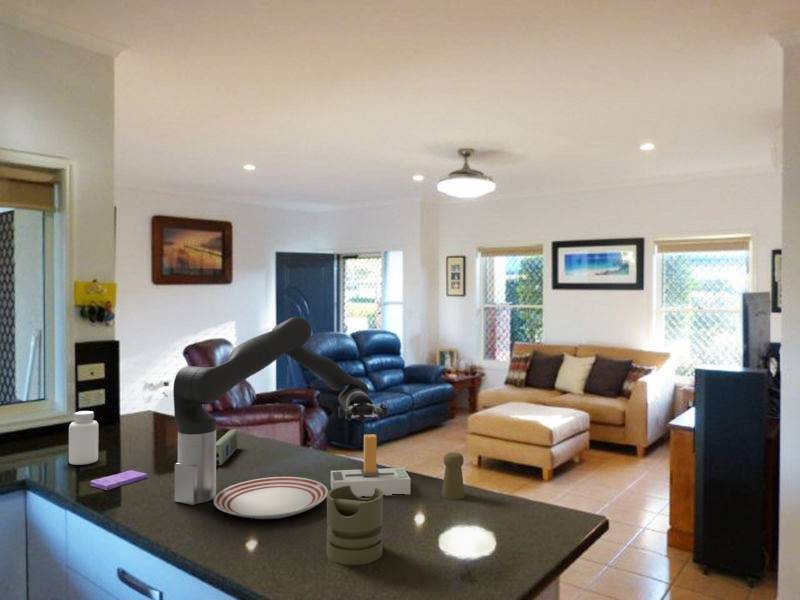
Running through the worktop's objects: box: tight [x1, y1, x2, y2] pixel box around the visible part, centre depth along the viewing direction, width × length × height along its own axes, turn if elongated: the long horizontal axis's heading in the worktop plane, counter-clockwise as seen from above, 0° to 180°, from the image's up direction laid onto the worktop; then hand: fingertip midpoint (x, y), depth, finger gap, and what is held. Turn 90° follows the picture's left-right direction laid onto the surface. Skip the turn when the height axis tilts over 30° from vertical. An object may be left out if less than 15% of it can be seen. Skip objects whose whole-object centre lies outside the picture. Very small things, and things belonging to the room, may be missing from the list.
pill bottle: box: [68, 410, 99, 466], centre depth 186 cm, size 8×8×15 cm
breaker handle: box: [360, 433, 379, 476], centre depth 163 cm, size 4×4×10 cm
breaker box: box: [330, 467, 411, 498], centre depth 163 cm, size 20×10×4 cm, turn 100°
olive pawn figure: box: [441, 452, 466, 501], centre depth 160 cm, size 6×6×11 cm
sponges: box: [89, 469, 148, 491], centre depth 168 cm, size 7×13×2 cm, turn 150°
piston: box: [326, 485, 384, 566], centre depth 125 cm, size 11×12×11 cm
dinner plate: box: [213, 476, 329, 520], centre depth 151 cm, size 28×27×3 cm
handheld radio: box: [216, 428, 238, 467], centre depth 191 cm, size 7×3×25 cm
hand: (365, 416), depth 174 cm, fingers open, 8 cm apart
